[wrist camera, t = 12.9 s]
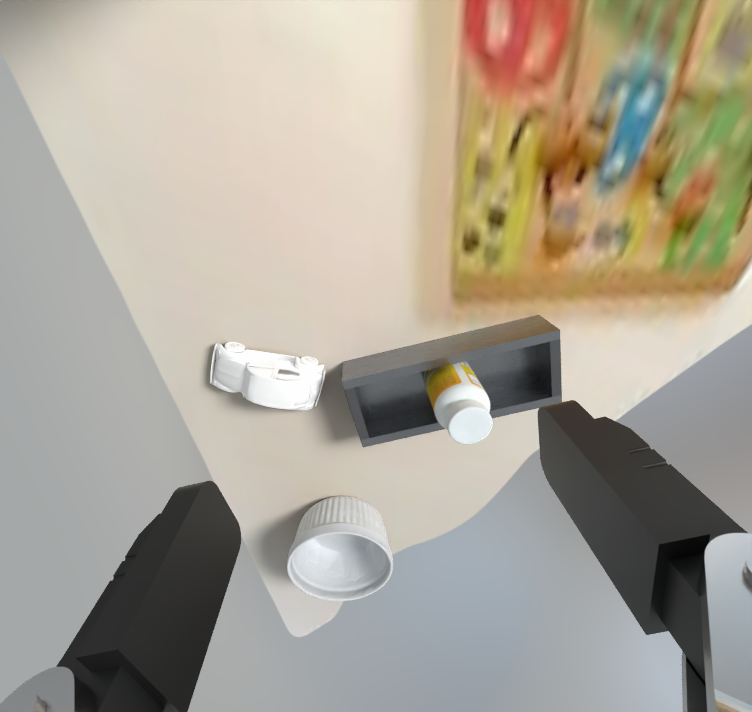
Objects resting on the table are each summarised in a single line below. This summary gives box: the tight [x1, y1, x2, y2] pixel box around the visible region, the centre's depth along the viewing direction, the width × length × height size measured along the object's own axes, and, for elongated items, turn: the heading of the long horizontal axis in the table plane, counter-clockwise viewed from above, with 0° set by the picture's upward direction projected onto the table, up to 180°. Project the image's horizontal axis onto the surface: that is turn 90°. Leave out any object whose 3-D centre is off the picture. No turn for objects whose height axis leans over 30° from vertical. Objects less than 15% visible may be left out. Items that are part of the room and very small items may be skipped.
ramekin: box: [287, 496, 393, 601], centre depth 49 cm, size 13×13×7 cm
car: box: [210, 342, 326, 411], centre depth 39 cm, size 12×6×5 cm, turn 74°
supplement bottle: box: [424, 361, 493, 444], centre depth 37 cm, size 5×5×10 cm
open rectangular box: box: [342, 315, 562, 447], centre depth 40 cm, size 9×22×4 cm, turn 104°
